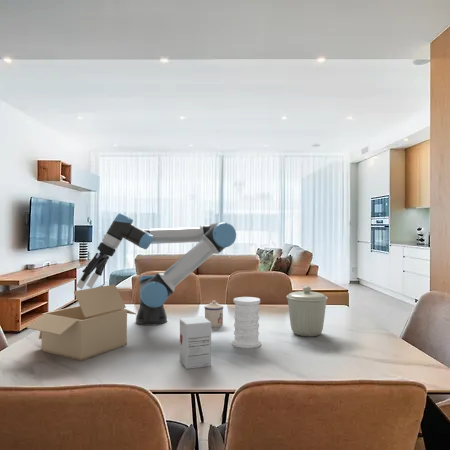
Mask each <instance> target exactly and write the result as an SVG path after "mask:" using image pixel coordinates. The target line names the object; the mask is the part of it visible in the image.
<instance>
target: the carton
mask: <svg viewBox="0 0 450 450" xmlns="http://www.w3.org/2000/svg"><path fill="white" fill-rule="evenodd" d="M128 314H130V315H136V316H137V313H136V312H134V311H131V310H129V309H126V308H123V309H119V310H115V311H111V312H107V313H103V314H99V315H94V316H90V317H86V318H85V317H84V314H83V312H82V310H81V307H80V305H76V306H70V307H65V308H61V309H56V310H52V311H48V312H47V311H46V312H44V313H41V316H40V317H38V318H37V319H36V320H34V321H33V322H31V323H30V324H29V325H28V326H26V328H27V329H30V330H34V331H38V332H39V335H38V340H41V346H40V347H41V350H40V351H41V352H44V353H48V354H51V355H57V356H60V357H64V358H67V359H71V360H76V361H79V362H83V361H86V360H88V359H91V358H95V357H97V356H99V355H103V354H106V353H108V352H111V351H113V350H116V349H118V348H122V347H124V346H127V344H128V341H127V340H128Z"/></svg>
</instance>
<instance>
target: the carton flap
mask: <svg viewBox="0 0 450 450" xmlns="http://www.w3.org/2000/svg"><path fill="white" fill-rule="evenodd" d="M73 293H74V296H75V298H76V300H77V302H78V306H80V307H81V310H82V312H83V314H84V317H85V318H86V317H90V316H94V315H99V314H103V313H107V312H111V311H115V310H119V309H123V308H124V309H126V308H127V307H126V305H125V303H124V300H123V298H122V296H121V294H120V291H119V290H118V287H117V286H116V284H109V285H103V286H102V285H101V286H98V287H96V286H95V287H92V288H90V287H89V288H84V289H78V290H74V291H73Z"/></svg>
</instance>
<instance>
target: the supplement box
mask: <svg viewBox="0 0 450 450" xmlns="http://www.w3.org/2000/svg"><path fill="white" fill-rule="evenodd" d="M179 362H180V363H181V364H182V366H183V367H184V368H185V369H186V370H189V369H195V368H197V367H198V368H203V367H204V366H205V367H211V366H212V327H211V322H210V321H208V320H207V319H205V316H196V317H182V318H180V319H179ZM205 367H204V368H205Z"/></svg>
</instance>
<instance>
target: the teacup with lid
mask: <svg viewBox="0 0 450 450" xmlns="http://www.w3.org/2000/svg"><path fill="white" fill-rule="evenodd" d="M223 312H224V305H222V304H219V303H218V302H217V300H212V301H211V302H210V303H208V304H206V305H205V306H204V318H205V319H207V320H208V321H210V322H211V328H220V327H222V326H223V324H224V323H223V317H224V313H223Z"/></svg>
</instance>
